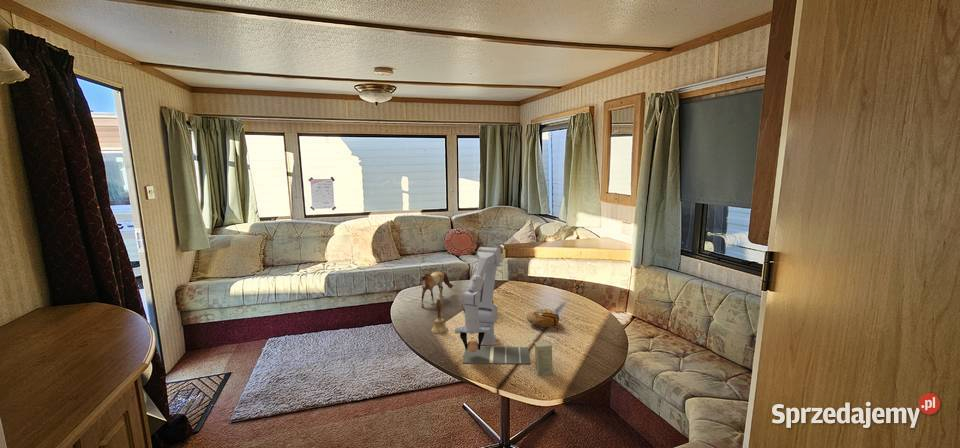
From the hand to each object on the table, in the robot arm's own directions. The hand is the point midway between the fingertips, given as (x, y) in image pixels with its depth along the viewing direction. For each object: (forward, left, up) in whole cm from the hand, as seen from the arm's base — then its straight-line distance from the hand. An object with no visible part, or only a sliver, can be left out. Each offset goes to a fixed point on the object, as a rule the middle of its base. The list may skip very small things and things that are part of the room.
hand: (472, 348), depth 167 cm
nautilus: (-30, +34, -4) cm, 46 cm away
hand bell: (-26, -19, -4) cm, 32 cm away
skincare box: (+12, +29, -4) cm, 32 cm away
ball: (0, 0, +1) cm, 1 cm away
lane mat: (-1, +10, -4) cm, 11 cm away
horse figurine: (-65, -26, -4) cm, 70 cm away
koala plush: (-52, -2, -4) cm, 52 cm away
